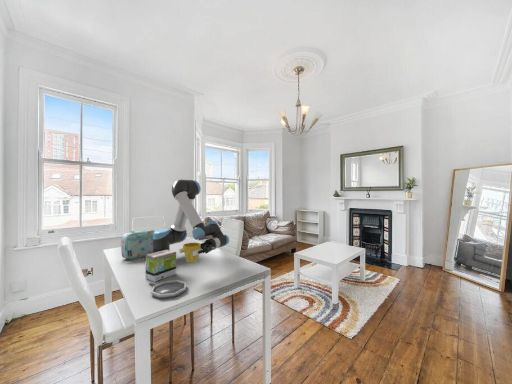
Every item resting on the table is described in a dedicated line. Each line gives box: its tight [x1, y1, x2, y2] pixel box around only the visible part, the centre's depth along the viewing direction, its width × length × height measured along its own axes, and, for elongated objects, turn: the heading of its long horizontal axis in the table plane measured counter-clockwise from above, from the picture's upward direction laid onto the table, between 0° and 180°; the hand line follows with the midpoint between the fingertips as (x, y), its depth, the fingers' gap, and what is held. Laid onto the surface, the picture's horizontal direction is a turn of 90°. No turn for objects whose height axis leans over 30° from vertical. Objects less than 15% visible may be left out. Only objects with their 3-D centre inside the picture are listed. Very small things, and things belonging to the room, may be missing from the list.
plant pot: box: [182, 242, 201, 263], centre depth 130 cm, size 10×10×10 cm
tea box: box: [144, 249, 177, 283], centre depth 136 cm, size 15×10×15 cm
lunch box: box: [120, 229, 156, 260], centre depth 176 cm, size 27×10×21 cm, turn 148°
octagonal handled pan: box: [148, 279, 187, 300], centre depth 118 cm, size 25×17×2 cm
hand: (186, 252), depth 127 cm, fingers closed on plant pot, 10 cm apart
